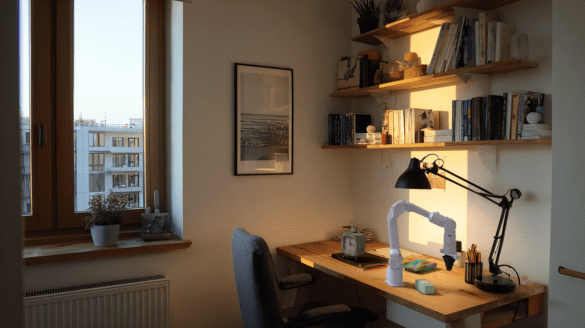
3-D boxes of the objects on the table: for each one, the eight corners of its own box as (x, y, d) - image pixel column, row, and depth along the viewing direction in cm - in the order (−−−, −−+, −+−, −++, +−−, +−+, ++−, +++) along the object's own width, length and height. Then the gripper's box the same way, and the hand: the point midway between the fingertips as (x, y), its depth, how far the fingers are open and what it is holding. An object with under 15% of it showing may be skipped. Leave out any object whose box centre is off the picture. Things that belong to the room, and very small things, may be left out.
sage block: (424, 294, 202) (415, 287, 212) (434, 293, 203) (424, 286, 213) (424, 285, 202) (415, 279, 212) (434, 284, 203) (424, 278, 212)
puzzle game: (437, 261, 247) (416, 267, 235) (436, 269, 247) (415, 275, 235) (420, 257, 256) (399, 262, 244) (420, 265, 256) (399, 270, 245)
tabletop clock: (340, 258, 270) (341, 220, 270) (350, 256, 276) (351, 218, 275) (356, 263, 259) (357, 223, 258) (366, 261, 264) (367, 221, 263)
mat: (412, 287, 212) (412, 287, 212) (425, 287, 213) (425, 286, 213) (422, 294, 202) (422, 293, 202) (435, 293, 203) (435, 293, 203)
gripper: (465, 246, 200) (464, 274, 201) (449, 240, 215) (448, 266, 215) (451, 246, 199) (451, 274, 199) (436, 240, 213) (435, 266, 214)
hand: (449, 270), depth 207 cm, fingers closed
